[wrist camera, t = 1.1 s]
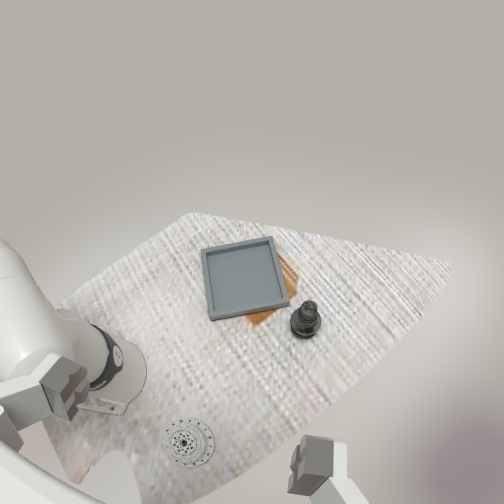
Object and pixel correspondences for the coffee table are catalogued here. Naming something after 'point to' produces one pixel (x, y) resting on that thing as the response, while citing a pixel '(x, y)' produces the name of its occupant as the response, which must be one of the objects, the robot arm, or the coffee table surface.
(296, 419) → the coffee table surface
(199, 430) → the mechanical component
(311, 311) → the dark stone stupa
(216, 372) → the coffee table surface
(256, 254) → the tray
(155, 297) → the coffee table surface
